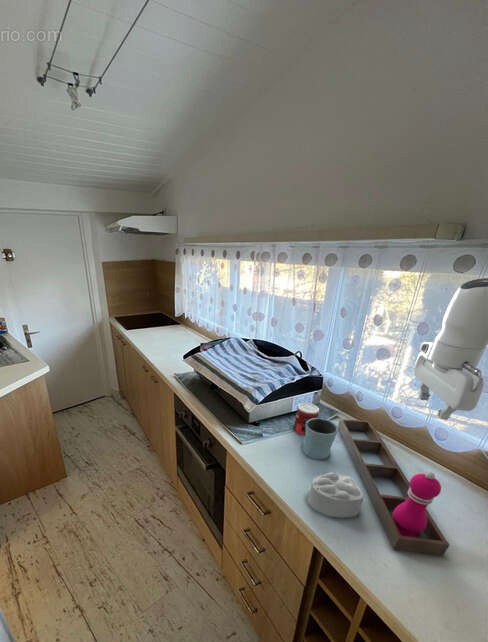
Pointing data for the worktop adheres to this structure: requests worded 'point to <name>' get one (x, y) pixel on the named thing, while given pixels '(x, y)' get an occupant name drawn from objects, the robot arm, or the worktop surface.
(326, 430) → the grey-green cup
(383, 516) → the cubby organizer
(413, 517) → the pepper mill
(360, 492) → the lumpy-topped squat cylinder
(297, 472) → the worktop surface
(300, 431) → the canned food
